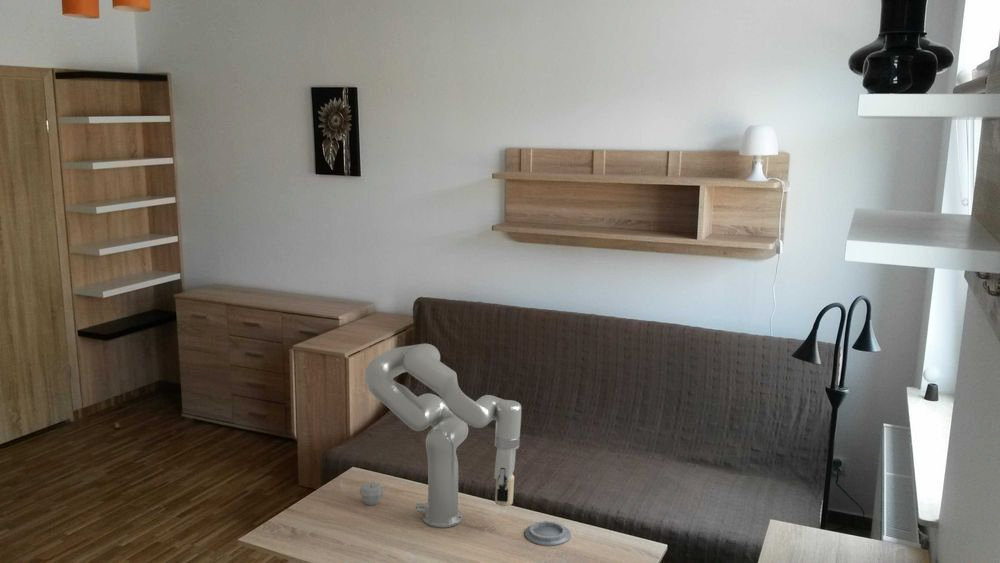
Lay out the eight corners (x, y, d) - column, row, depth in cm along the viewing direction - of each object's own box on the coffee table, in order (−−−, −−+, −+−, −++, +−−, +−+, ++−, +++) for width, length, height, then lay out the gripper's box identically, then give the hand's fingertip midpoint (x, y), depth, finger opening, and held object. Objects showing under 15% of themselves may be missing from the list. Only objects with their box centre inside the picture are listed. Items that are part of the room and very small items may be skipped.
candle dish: (521, 543, 249) (521, 537, 249) (528, 522, 263) (528, 516, 262) (567, 548, 246) (568, 542, 246) (572, 526, 260) (572, 521, 260)
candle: (510, 507, 252) (512, 476, 251) (493, 504, 254) (494, 474, 252) (514, 499, 258) (516, 469, 256) (496, 497, 259) (498, 467, 257)
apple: (381, 508, 270) (381, 489, 269) (357, 508, 270) (357, 489, 269) (385, 498, 278) (385, 479, 277) (361, 497, 278) (361, 479, 277)
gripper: (500, 429, 261) (497, 483, 264) (489, 450, 244) (486, 507, 248) (523, 432, 260) (520, 486, 263) (514, 453, 243) (511, 510, 246)
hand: (504, 496), depth 255 cm, fingers closed on candle, 5 cm apart
